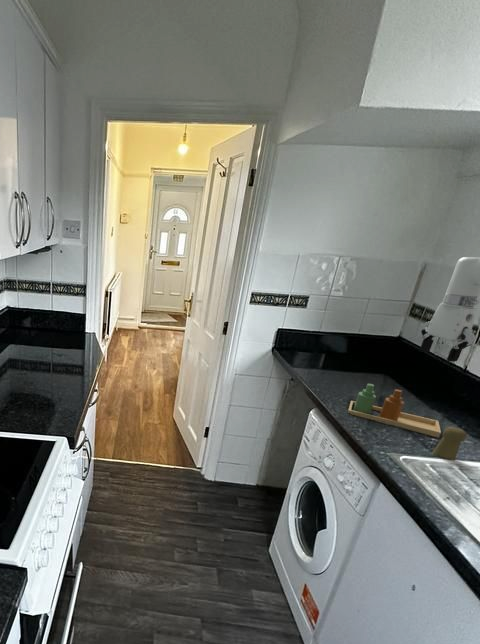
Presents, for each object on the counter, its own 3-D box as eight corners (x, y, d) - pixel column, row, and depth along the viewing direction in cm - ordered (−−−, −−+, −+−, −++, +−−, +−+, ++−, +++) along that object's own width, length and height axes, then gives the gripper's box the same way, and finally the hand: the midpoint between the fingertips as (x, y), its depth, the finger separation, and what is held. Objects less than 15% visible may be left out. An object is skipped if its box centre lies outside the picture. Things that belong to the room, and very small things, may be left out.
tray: (436, 425, 149) (438, 420, 148) (438, 437, 140) (441, 432, 139) (349, 405, 162) (351, 400, 161) (346, 414, 153) (348, 410, 152)
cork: (450, 468, 121) (467, 436, 117) (426, 459, 125) (441, 427, 121) (455, 462, 125) (472, 430, 120) (432, 453, 129) (447, 422, 124)
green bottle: (370, 411, 156) (380, 384, 152) (369, 416, 152) (379, 388, 147) (353, 407, 159) (362, 380, 155) (352, 412, 155) (361, 384, 150)
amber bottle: (397, 417, 152) (407, 390, 148) (397, 423, 148) (408, 394, 143) (379, 413, 155) (389, 386, 150) (378, 418, 150) (389, 390, 146)
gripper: (499, 307, 116) (474, 365, 122) (443, 296, 131) (424, 348, 138) (476, 306, 114) (452, 365, 121) (423, 295, 130) (404, 348, 137)
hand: (437, 356), depth 130 cm, fingers open, 9 cm apart
